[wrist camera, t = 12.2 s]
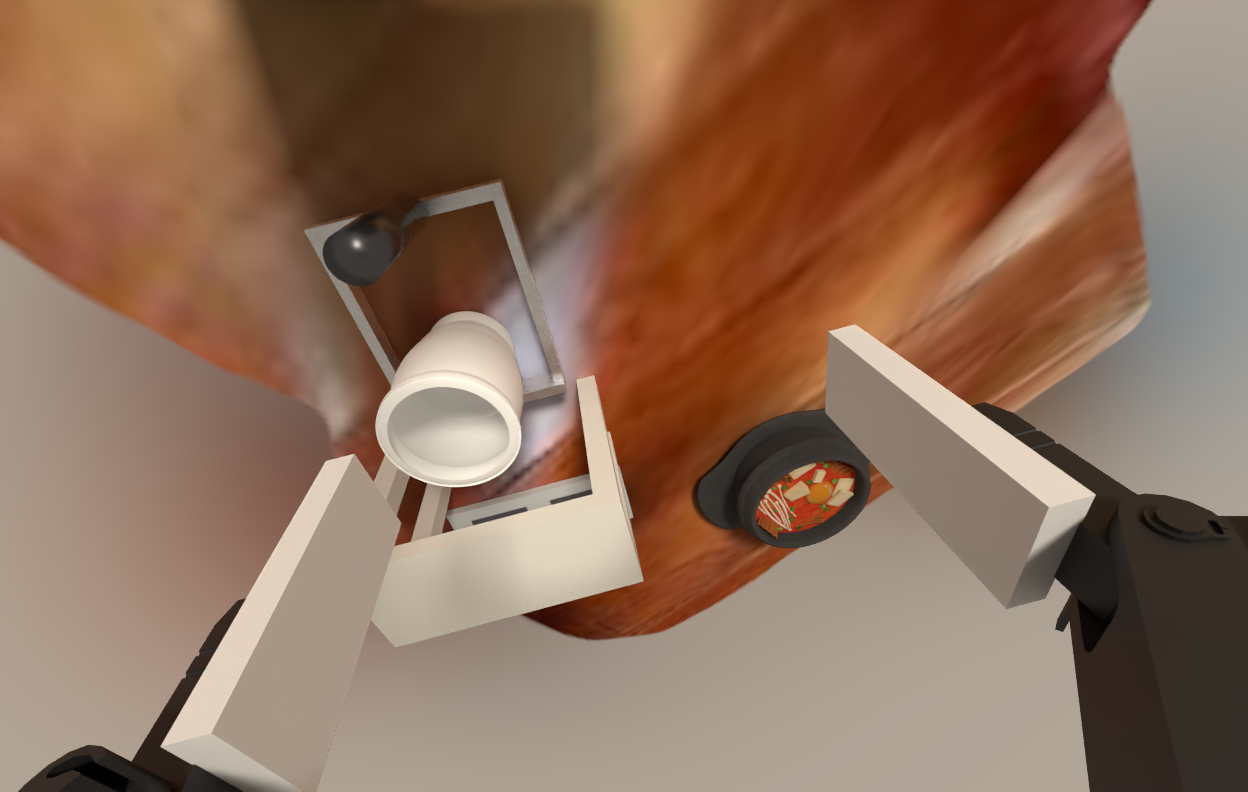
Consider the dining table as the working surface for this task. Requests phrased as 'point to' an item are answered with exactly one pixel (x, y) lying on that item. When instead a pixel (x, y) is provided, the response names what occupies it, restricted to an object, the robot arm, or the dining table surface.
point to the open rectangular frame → (509, 545)
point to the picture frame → (383, 233)
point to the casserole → (788, 481)
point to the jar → (455, 404)
